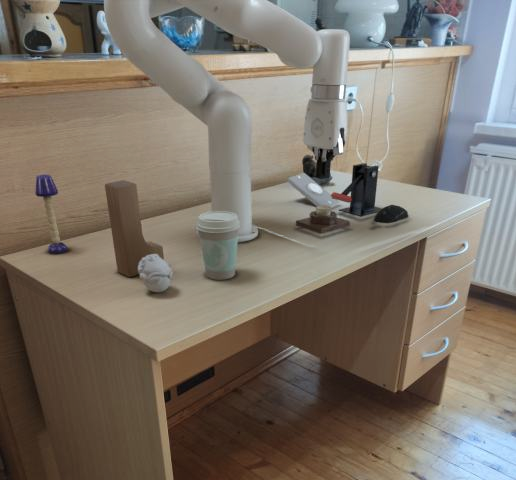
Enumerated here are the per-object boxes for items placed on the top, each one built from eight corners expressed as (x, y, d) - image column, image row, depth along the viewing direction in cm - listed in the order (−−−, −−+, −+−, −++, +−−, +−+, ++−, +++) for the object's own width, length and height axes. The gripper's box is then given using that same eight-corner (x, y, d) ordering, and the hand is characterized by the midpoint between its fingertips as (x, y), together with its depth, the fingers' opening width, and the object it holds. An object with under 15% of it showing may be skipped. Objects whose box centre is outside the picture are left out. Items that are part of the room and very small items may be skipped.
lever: (349, 204, 137) (347, 197, 135) (332, 200, 141) (330, 193, 139) (378, 174, 139) (376, 167, 138) (361, 171, 143) (358, 163, 142)
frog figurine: (158, 281, 105) (154, 247, 102) (181, 290, 101) (178, 255, 98) (133, 291, 101) (128, 256, 98) (156, 301, 97) (152, 265, 94)
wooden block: (152, 261, 115) (143, 175, 106) (165, 266, 113) (156, 179, 104) (117, 272, 110) (103, 183, 101) (129, 278, 107) (116, 187, 98)
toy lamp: (44, 249, 122) (28, 175, 114) (64, 245, 125) (49, 172, 117) (52, 255, 119) (36, 179, 111) (72, 250, 122) (58, 175, 113)
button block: (320, 237, 128) (321, 221, 126) (295, 229, 134) (296, 213, 132) (349, 229, 133) (350, 213, 131) (323, 221, 139) (324, 206, 138)
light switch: (326, 206, 146) (288, 174, 149) (317, 223, 150) (280, 192, 153) (342, 200, 152) (305, 169, 155) (332, 216, 156) (296, 186, 159)
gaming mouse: (361, 226, 136) (362, 210, 134) (391, 214, 145) (393, 199, 143) (383, 231, 132) (384, 215, 130) (412, 218, 141) (414, 203, 139)
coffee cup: (191, 274, 108) (186, 216, 102) (222, 263, 113) (220, 207, 108) (218, 286, 103) (215, 225, 97) (250, 274, 108) (249, 216, 102)
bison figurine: (321, 180, 181) (323, 149, 176) (336, 184, 176) (338, 152, 171) (295, 186, 174) (296, 154, 169) (311, 190, 169) (312, 157, 164)
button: (323, 218, 130) (323, 209, 129) (312, 215, 132) (313, 206, 131) (333, 215, 132) (334, 207, 131) (323, 212, 134) (323, 204, 133)
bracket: (360, 220, 140) (364, 170, 134) (338, 214, 146) (341, 165, 139) (384, 213, 146) (390, 165, 139) (362, 207, 151) (366, 160, 145)
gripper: (293, 91, 122) (290, 174, 131) (341, 96, 111) (334, 185, 120) (317, 90, 126) (312, 170, 135) (365, 95, 116) (356, 181, 125)
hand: (322, 177), depth 128 cm, fingers closed
